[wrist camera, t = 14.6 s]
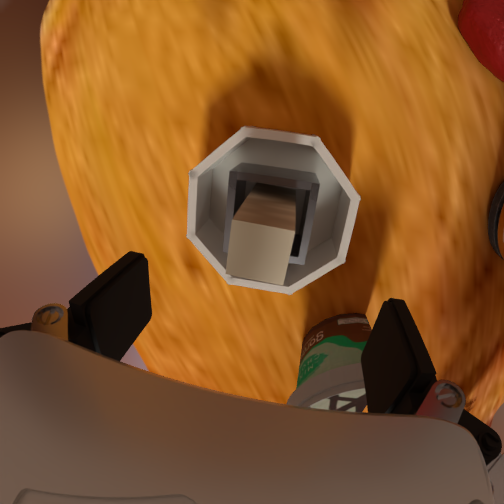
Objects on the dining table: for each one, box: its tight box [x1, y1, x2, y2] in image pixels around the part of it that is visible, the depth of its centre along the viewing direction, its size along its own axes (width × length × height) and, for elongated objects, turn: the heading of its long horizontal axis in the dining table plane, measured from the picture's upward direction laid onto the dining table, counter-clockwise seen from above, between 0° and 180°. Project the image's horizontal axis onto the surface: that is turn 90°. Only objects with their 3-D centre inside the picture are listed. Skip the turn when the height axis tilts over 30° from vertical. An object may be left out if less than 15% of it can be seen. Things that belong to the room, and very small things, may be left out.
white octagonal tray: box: [186, 126, 361, 295], centre depth 21 cm, size 11×11×4 cm
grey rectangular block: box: [226, 182, 296, 285], centre depth 18 cm, size 3×3×9 cm
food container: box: [287, 313, 372, 412], centre depth 24 cm, size 12×6×10 cm, turn 169°
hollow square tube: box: [223, 162, 320, 265], centre depth 20 cm, size 6×6×4 cm
